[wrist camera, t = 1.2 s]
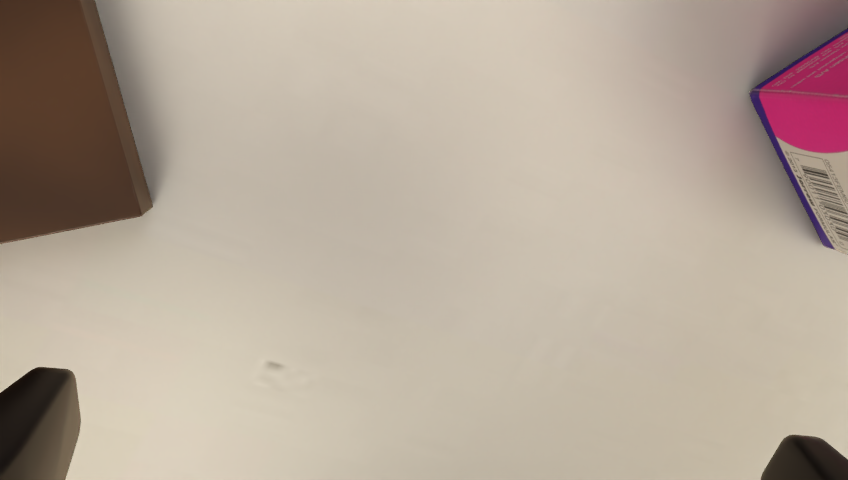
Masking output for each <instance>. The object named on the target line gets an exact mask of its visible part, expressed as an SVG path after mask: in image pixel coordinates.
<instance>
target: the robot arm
mask: <svg viewBox="0 0 848 480" xmlns="http://www.w3.org/2000/svg"><path fill="white" fill-rule="evenodd" d="M80 422H81V418H80V409H79V401H78V393H77V385H76V379H75V375H74V374H73V372H72V371H70V370H68V369H58V368H47V367H38V368H35V369H33V370H31V371H29V372H28V373H27V374H25V375H24V376H23V377H21V378H20V379H19V380H17V381H16V382H14V383H13V384H12V385H10V386H9V387H8V388H6V389H5V390H4V391H2V392H1V393H0V480H65V479H66V476H67V472H68V469H69V466H70V462H71V459H72V456H73V453H74V449H75V446H76V443H77V440H78V436H79V431H80ZM761 480H848V460H847V459H846V458H845V457H844V456H843V455H841V454H840V453H839V452H838V451H837V450H835V449H834V448H833V447H832V446H830V445H829V444H828V443H827V442H825V441H824V440H823V439H821V438H818V437H813V436H802V435H789V436H787V437H786V438H784V439H783V441H782V442H781V444H780V445H779V447H778V448H777V450H776V452H775V453H774V455H773V457H772V458H771V460H770V462H769V463H768V465H767V467H766V468H765V470H764V472H763V474H762V477H761Z"/></svg>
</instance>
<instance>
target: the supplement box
mask: <svg viewBox="0 0 848 480" xmlns="http://www.w3.org/2000/svg"><path fill="white" fill-rule="evenodd" d="M749 95H750V98H751V101H752V103H753V105H754V107H755V110H756V112H757V114H758V115H759V117H760V119H761V122H762V124H763V126H764V128H765V130H766V132H767V134H768V136H769V138H770V140H771V142H772V144H773V146H774V148H775V150H776V152H777V155H778V157H779V159H780V160H781V162H782V164H783V166H784V169H785V170H786V172H787V174H788V176H789V178H790V180H791V182H792V184H793V186H794V188H795V190H796V192H797V194H798V196H799V198H800V200H801V202H802V204H803V206H804V208H805V210H806V212H807V214H808V216H809V218H810V220H811V221H812V223H813V225H814V227H815V229H816V231H817V233H818V235H819V238H820V240H821V242H822V244H823V245H824V246H825V247H827V248H831V249H835V250H838V251H840V252H842V253H845V254H847V255H848V28H847V29H846V30H844V31H843V32H841V33H840V34H838V35H836V36H835V37H833V38H832V39H830V40H828V41H827V42H825V43H824V44H822V45H820V46H819V47H817V48H815V49H814V50H812V51H811V52H809V53H808V54H806V55H804V56H803V57H801V58H800V59H798V60H796V61H795V62H793V63H792V64H790V65H789V66H787V67H786V68H784V69H782V70H781V71H779V72H778V73H776V74H775V75H773V76H771V77H770V78H768V79H767V80H765V81H764V82H762V83H761V84H759V85H758V86H756V87H755V88H753V89H752V90H751V91H750V92H749Z"/></svg>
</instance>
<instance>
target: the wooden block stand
mask: <svg viewBox="0 0 848 480" xmlns="http://www.w3.org/2000/svg"><path fill="white" fill-rule="evenodd" d="M152 207H153V205H152V201H151V198H150V194H149V191H148V187H147V184H146V180H145V177H144V173H143V170H142V166H141V162H140V159H139V155H138V152H137V148H136V145H135V141H134V138H133V134H132V131H131V127H130V124H129V120H128V117H127V113H126V110H125V106H124V103H123V99H122V96H121V92H120V89H119V85H118V82H117V78H116V74H115V71H114V67H113V64H112V60H111V57H110V53H109V50H108V46H107V43H106V39H105V36H104V32H103V29H102V25H101V22H100V18H99V15H98V11H97V8H96V4H95V1H94V0H0V244H3V243H8V242H13V241H18V240H23V239H28V238H34V237H39V236H44V235H49V234H54V233H59V232H64V231H69V230H74V229H79V228H84V227H89V226H94V225H100V224H105V223H110V222H115V221H120V220H125V219H130V218H135V217H140V216H142V215H143V214H145V213H146V212H147V211H148V210H150V209H151V208H152Z"/></svg>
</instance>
